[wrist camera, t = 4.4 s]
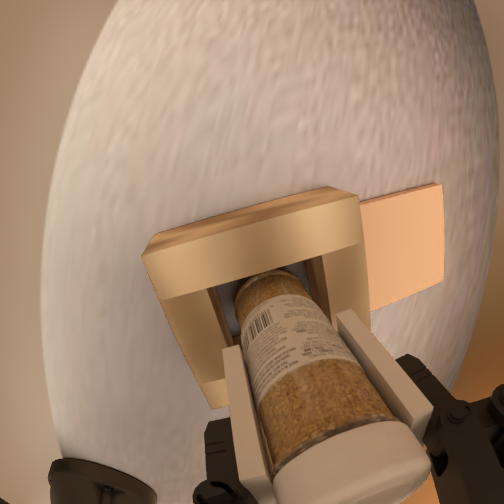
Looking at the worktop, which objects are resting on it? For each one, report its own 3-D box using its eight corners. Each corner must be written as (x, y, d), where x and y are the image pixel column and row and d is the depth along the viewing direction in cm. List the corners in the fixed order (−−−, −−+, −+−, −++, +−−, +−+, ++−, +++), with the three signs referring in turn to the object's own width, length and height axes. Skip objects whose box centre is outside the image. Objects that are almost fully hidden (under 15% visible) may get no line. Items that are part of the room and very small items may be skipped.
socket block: (209, 371, 21) (211, 409, 17) (155, 234, 17) (141, 256, 14) (348, 329, 22) (371, 359, 18) (328, 186, 18) (358, 195, 14)
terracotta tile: (358, 309, 21) (363, 314, 20) (346, 205, 18) (351, 207, 18) (437, 276, 22) (443, 280, 21) (435, 182, 19) (441, 184, 18)
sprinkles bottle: (268, 344, 19) (337, 539, 6) (216, 303, 17) (248, 538, 5) (321, 297, 18) (449, 472, 6) (273, 250, 17) (410, 455, 4)
